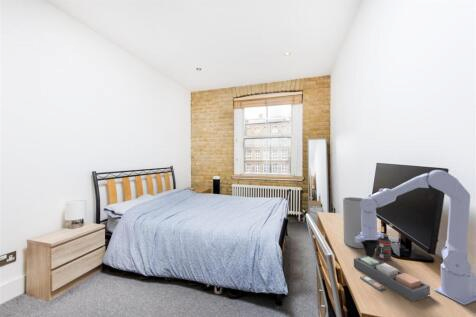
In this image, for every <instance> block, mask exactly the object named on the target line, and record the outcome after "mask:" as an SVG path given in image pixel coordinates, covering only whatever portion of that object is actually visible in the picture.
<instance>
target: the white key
mask: <svg viewBox="0 0 476 317" xmlns="http://www.w3.org/2000/svg"><path fill="white" fill-rule="evenodd" d="M383 263H384V264H380V265H376V270H377V271H379V272H381V273H383V274H385V275H386V276H388V277H391V276H394V275H398V270H399V269H398V268H396V267H394V266H392V265H390V264H388V263H385V262H383Z"/></svg>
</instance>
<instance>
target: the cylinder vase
mask: <svg viewBox="0 0 476 317" xmlns="http://www.w3.org/2000/svg"><path fill="white" fill-rule="evenodd" d="M363 199H364V198H361V197H353V196H349V197H343V198H342V207H343V208H342V210H343V211H342V214H343V218H342V220H343V242H344V244H345V245H346V246H348V247H351V248H354V249H364V250H365V248H364V246H363V244H362V243H361V242H360V243H357V242H355V237H356V236H358V235H360V232H362V227H361V214H362V213H361V208H360V202H361V201H362V200H363Z"/></svg>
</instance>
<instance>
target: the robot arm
mask: <svg viewBox="0 0 476 317" xmlns="http://www.w3.org/2000/svg"><path fill="white" fill-rule="evenodd" d="M429 185H430V186H431V187H432V188H433V189H436V190H438V191H440V192H442V193H444V195H446V196H447V197H449V208H448V218H447V230H446V241H445V245H444V247H443V248H442V249H441V250H440V255H441V257H442V260H443V261H442V263H441V264H440V286H439V287H436V288H434V291H436V292H437V293H440V294H442V295H443V296H445V297H447V298H449V299H451V300H453V301H455V302H457V303H459V304H461V305H463V306H466V305H467V304H470V303H473V302H475V301H476V276H475V274H474V272H472V271H471V270H472V266H471V264H470V262H469V260H468V249H467V244H468V243H467V242H468V232H469V231H468V229H469V218H470V206H471V194H470V193H469V191H468V190H467V188H465V187H464V186H463V184H462V183H461V182H460V181H459V179H458V178H457V177H455V176H453V175H452V174H450V173H449V172H447V171H445V170H442V169H433V170H431V171H430V172H426V173H422V174H420V175H417V176H414V177H413V178H411V179H409V180H407V181H405V182H403V183H401V184H399V185H397V186H395V187H392V188H391V189H390V188H387V187H386V188H380V189H378V191H377V192H375V193H373V194H368V195H367V196H366V197H364V198H363V200H362V201H361V202H360V208H361V213H362V214H361V227H362V232H360V235H358V236H356V237H355V242H357V243H360V242H361V243H362V244H363V246H364V251H365V256H369V257H373V258H374V256H375V253H376V247H377V245H378V244H379V241H377V240H376V239H378V238H384V234H385V233H384V232H380V231H378V216H377V208H382V207H384V206H386V205H390V204H391V203H393V202H395V201H396V199H397V197H398V196H401V195H403V194H406V193H408V192H410V191H413V190H415V189H418V188H420V189H421V188H422V189H423V188H424V189H425V188H426V189H429V188H430V187H429Z"/></svg>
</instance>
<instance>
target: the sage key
mask: <svg viewBox="0 0 476 317" xmlns="http://www.w3.org/2000/svg"><path fill="white" fill-rule="evenodd" d="M360 261H361V262H363V263H365V264H367V265H368V266H370V267H372V266H376V265H380V264H379V262H378V261H376V260H374V259H372V258H370V257H365V258H361V259H360Z"/></svg>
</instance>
